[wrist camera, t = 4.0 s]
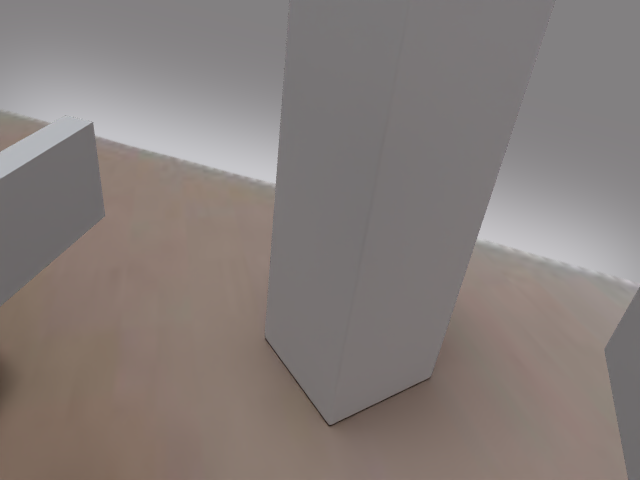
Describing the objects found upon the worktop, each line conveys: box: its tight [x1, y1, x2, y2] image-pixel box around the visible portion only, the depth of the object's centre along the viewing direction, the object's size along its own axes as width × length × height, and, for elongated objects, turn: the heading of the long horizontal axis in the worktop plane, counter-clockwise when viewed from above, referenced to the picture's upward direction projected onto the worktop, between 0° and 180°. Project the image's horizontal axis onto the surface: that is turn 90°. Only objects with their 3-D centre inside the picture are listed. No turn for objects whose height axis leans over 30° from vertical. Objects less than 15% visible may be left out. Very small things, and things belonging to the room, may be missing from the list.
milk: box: [265, 0, 556, 425], centre depth 21 cm, size 6×6×22 cm
